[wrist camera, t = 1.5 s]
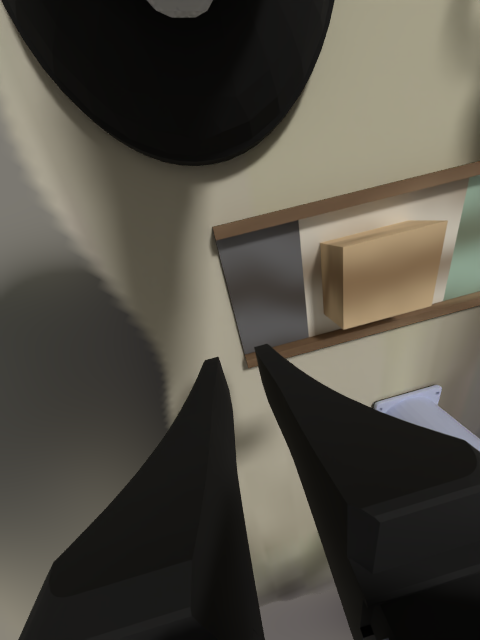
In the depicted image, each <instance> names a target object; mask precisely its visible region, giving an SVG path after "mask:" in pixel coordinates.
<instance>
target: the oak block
mask: <svg viewBox="0 0 480 640" xmlns="http://www.w3.org/2000/svg"><path fill="white" fill-rule="evenodd" d="M447 223H448V220H408V221H404V222H400V223H396V224H392V225H388V226H384V227H380V228H377V229H373V230H369V231H365V232H361V233H357V234H353V235H349V236H345V237H341V238H337V239H333V240H329V241H325V242H321V243H320V251H321V270H322V290H323V309H324V315H326V316H327V317H328V318H329V319H331V320H332V321H333V322H334V323H336V324H337V325H338V326H339V327H341V328H342V329H343V330H344V329H348V328H352V327H356V326H359V325H363V324H367V323H370V322H374V321H378V320H381V319H385V318H389V317H393V316H396V315H400V314H404V313H407V312H411V311H415V310H418V309H422V308H426V307H430V306H432V301H433V296H434V291H435V286H436V280H437V275H438V270H439V265H440V260H441V254H442V249H443V244H444V239H445V233H446V228H447Z"/></svg>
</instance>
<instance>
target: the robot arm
mask: <svg viewBox="0 0 480 640" xmlns="http://www.w3.org/2000/svg"><path fill="white" fill-rule="evenodd" d="M254 349H255V354H256V358H257V362H258V367H259V371H260V376H261V380H262V383H263V387H264V390H265V393H266V396H267V399H268V402H269V404H270V407H271V409H272V411H273V413H274V416H275V418H276V420H277V422H278V425H279V427H280V429H281V431H282V434H283V436H284V438H285V441H286V443H287V445H288V447H289V450H290V452H291V455H292V457H293V460H294V463H295V466H296V468H297V471H298V474H299V477H300V480H301V483H302V486H303V489H304V492H305V495H306V498H307V501H308V503H309V506H310V509H311V512H312V515H313V518H314V521H315V524H316V527H317V530H318V533H319V536H320V539H321V542H322V545H323V548H324V551H325V554H326V557H327V560H328V563H329V566H330V569H331V572H332V575H333V578H334V581H335V584H336V587H337V591H338V594H339V597H340V600H341V603H342V606H343V609H344V612H345V615H346V618H347V621H348V624H349V627H350V630H351V633H352V636H353V639H354V640H480V439H479V438H478V437H476V436H475V435H474V434H473V433H471V432H470V431H469V430H468V429H466V428H465V427H464V426H463V425H461V424H460V423H459V422H458V421H456V420H455V419H454V418H453V417H451V416H450V415H449V414H448V413H446V412H445V411H444V410H443V409H441V408H440V407H439V406H438V401H439V398H440V394H441V390H442V387H440V386H439V385H434V386H430V387H427V388H423V389H420V390H416V391H413V392H409V393H406V394H402V395H399V396H395V397H392V398H388V399H385V400H381V401H378V402H376V403H375V405H374V409H373V408H370V407H368V406H366V405H364V404H361V403H359V402H357V401H355V400H352V399H350V398H348V397H346V396H344V395H342V394H340V393H338V392H336V391H334V390H332V389H330V388H328V387H327V386H325V385H323V384H321V383H320V382H318V381H316V380H315V379H313V378H312V377H310V376H309V375H307V374H306V373H304V372H303V371H301V370H300V369H298V368H297V367H296V366H294V365H293V364H292V363H290V362H289V361H288V360H286V359H285V358H284V357H283V356H281V355H280V354H279V353H278V352H277V351H276V350H274V349H273V348H272V347H271V346H270V345H269V344H264V345H260V346H256V347H254ZM18 640H265V638H264V632H263V627H262V621H261V615H260V609H259V604H258V598H257V592H256V586H255V581H254V575H253V569H252V563H251V557H250V551H249V545H248V539H247V532H246V526H245V520H244V514H243V507H242V501H241V494H240V488H239V481H238V474H237V464H236V449H235V434H234V419H233V409H232V403H231V397H230V392H229V388H228V385H227V382H226V379H225V376H224V373H223V370H222V366H221V363H220V360H219V357H215V358H212V359H208V360H205V361H204V363H203V365H202V368H201V370H200V373H199V375H198V377H197V379H196V382H195V384H194V386H193V388H192V390H191V392H190V394H189V396H188V398H187V400H186V402H185V403H184V405H183V407H182V409H181V411H180V412H179V414H178V416H177V417H176V419H175V421H174V422H173V424H172V426H171V427H170V429H169V430H168V432H167V433H166V435H165V436H164V438H163V439H162V441H161V442H160V443H159V445H158V446H157V447H156V449H155V450H154V452H153V453H152V454H151V455H150V457H149V458H148V459H147V461H146V462H145V463H144V464H143V466H142V467H141V468H140V470H139V471H138V472H137V473H136V475H135V476H134V477H133V478H132V479H131V480H130V482H129V483H128V484H127V485H126V486H125V488H124V489H123V490H122V491H121V492H120V493H119V494H118V496H116V498H115V499H114V500H113V501H112V502H111V503H110V504H109V506H108V507H107V508H106V509H105V510H104V511H103V512H102V513H101V514H100V515H99V516H98V517H97V518H96V519H95V520H94V522H92V524H91V525H90V526H89V527H88V528H87V529H86V530H85V531H84V532H83V533H82V534H81V535H80V536H79V537H78V538H77V539H76V540H75V541H74V542H73V543H72V544H71V545H70V546H69V548H67V549H66V551H64V553H62V554H61V555H60V556H59V558H57V559H56V560H55V561H54V563H53V565H52V567H51V569H50V571H49V573H48V575H47V577H46V580H45V581H44V584H43V586H42V588H41V590H40V592H39V595H38V597H37V599H36V601H35V604H34V606H33V608H32V610H31V613H30V615H29V617H28V619H27V622H26V624H25V626H24V628H23V631H22V633H21V635H20V637H19V639H18Z"/></svg>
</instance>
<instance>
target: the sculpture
mask: <svg viewBox="0 0 480 640" xmlns="http://www.w3.org/2000/svg"><path fill="white" fill-rule="evenodd" d="M2 2H3V5H4V7H5V9H6V10H7V12H8V14H9V16H10V17H11V19H12V21H13V22H14V24H15V26H16V28H17V29H18V31H19V33H20V34H21V36H22V38H23V40H24V41H25V43H26V44H27V45H28V47H29V48H30V50H31V51H32V53H33V54H34V56H35V57H36V58H37V60H38V61H39V63H40V64H41V66H42V67H43V68H44V70H45V71H46V72H47V73H48V74H49V76H50V77H51V78H52V79H53V80H54V82H55V83H56V84H57V85H58V86H59V88H60V89H61V90H62V91H63V92H64V93H65V94H66V95H67V96H68V97H69V98H70V99H71V100H72V101H73V102H74V103H75V104H76V105H77V106H78V107H79V108H80V109H81V110H82V111H83V112H84V113H85V114H86V115H87V116H88V117H89V118H90V119H92V120H93V121H94V122H95V123H96V124H98V125H99V126H100V127H101V128H102V129H104V130H105V131H106V132H107V133H109V134H110V135H111V136H113V137H114V138H116V139H117V140H119V141H120V142H122V143H123V144H125V145H127V146H128V147H130V148H132V149H134V150H136V151H138V152H140V153H142V154H144V155H146V156H149V157H152V158H154V159H157V160H160V161H163V162H168V163H173V164H178V165H189V166H201V165H210V164H216V163H219V162H223V161H227V160H230V159H232V158H234V157H236V156H239V155H241V154H243V153H245V152H246V151H248V150H249V149H251V148H253V147H254V146H256V145H257V144H258V143H260V142H261V141H262V140H263V139H264V138H265V137H266V136H268V135H269V134H270V133H271V132H272V131H273V130H274V128H275V127H276V126H277V125H278V124H279V123H280V122H281V121H282V119H283V118H284V117H285V115H286V114H287V113H288V111H289V110H290V109H291V107H292V106H293V104H294V103H295V101H296V100H297V98H298V97H299V96H300V94H301V92H302V90H303V89H304V87H305V85H306V83H307V81H308V79H309V77H310V76H311V74H312V71H313V69H314V67H315V64H316V62H317V59H318V57H319V54H320V52H321V49H322V46H323V43H324V40H325V36H326V33H327V30H328V27H329V23H330V19H331V14H332V9H333V5H334V0H2Z"/></svg>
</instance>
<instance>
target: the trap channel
mask: <svg viewBox="0 0 480 640" xmlns="http://www.w3.org/2000/svg"><path fill="white" fill-rule="evenodd" d="M408 220H448V223H447V228H446V233H445V239H444V244H443V249H442V254H441V260H440V265H439V270H438V275H437V280H436V286H435V291H434V296H433V301H432V306H430V307H426V308H422V309H418V310H415V311H411V312H407V313H404V314H400V315H396V316H393V317H389V318H385V319H381V320H378V321H374V322H370V323H367V324H363V325H359V326H356V327H352V328H348V329H344V330H343V329H342V328H341V327H339V326H338V325H337V324H336V323H334V322H333V321H332V320H331V319H329V318H328V317H327V316H326V315H324V309H323V290H322V270H321V251H320V243H321V242H325V241H329V240H333V239H337V238H341V237H345V236H349V235H353V234H357V233H361V232H365V231H369V230H373V229H377V228H380V227H384V226H388V225H392V224H396V223H400V222H404V221H408ZM212 228H213V232H214V236H215V239H216V243H217V247H218V251H219V255H220V259H221V263H222V267H223V271H224V275H225V279H226V283H227V287H228V291H229V294H230V298H231V302H232V306H233V310H234V314H235V318H236V322H237V326H238V330H239V334H240V338H241V342H242V345H243V349H244V353H245V357H246V361H247V364H248V368H251V367H255V366H258V362H257V358H256V354H255V349H254V347H256V346H260V345H264V344H269V345H270V346H271V347H272V348H273V349H274V350H276V351H277V352H278V353H279V354H280V355H281V356H283V357H284V358H288V357H291V356H295V355H299V354H302V353H306V352H310V351H313V350H317V349H321V348H324V347H328V346H332V345H335V344H339V343H343V342H346V341H350V340H354V339H357V338H361V337H365V336H368V335H372V334H376V333H379V332H383V331H387V330H390V329H394V328H398V327H401V326H405V325H409V324H412V323H416V322H420V321H424V320H427V319H431V318H435V317H438V316H442V315H446V314H449V313H453V312H457V311H460V310H464V309H468V308H471V307H475V306H479V305H480V161H478V162H474V163H469V164H465V165H461V166H457V167H453V168H449V169H445V170H441V171H437V172H433V173H429V174H425V175H421V176H417V177H413V178H409V179H405V180H401V181H397V182H393V183H389V184H384V185H380V186H376V187H372V188H368V189H364V190H360V191H356V192H352V193H348V194H344V195H340V196H336V197H332V198H328V199H324V200H320V201H316V202H312V203H308V204H303V205H299V206H295V207H291V208H287V209H283V210H279V211H275V212H271V213H267V214H263V215H259V216H255V217H251V218H247V219H243V220H239V221H235V222H231V223H227V224H223V225H218V226H214V227H212Z"/></svg>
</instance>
